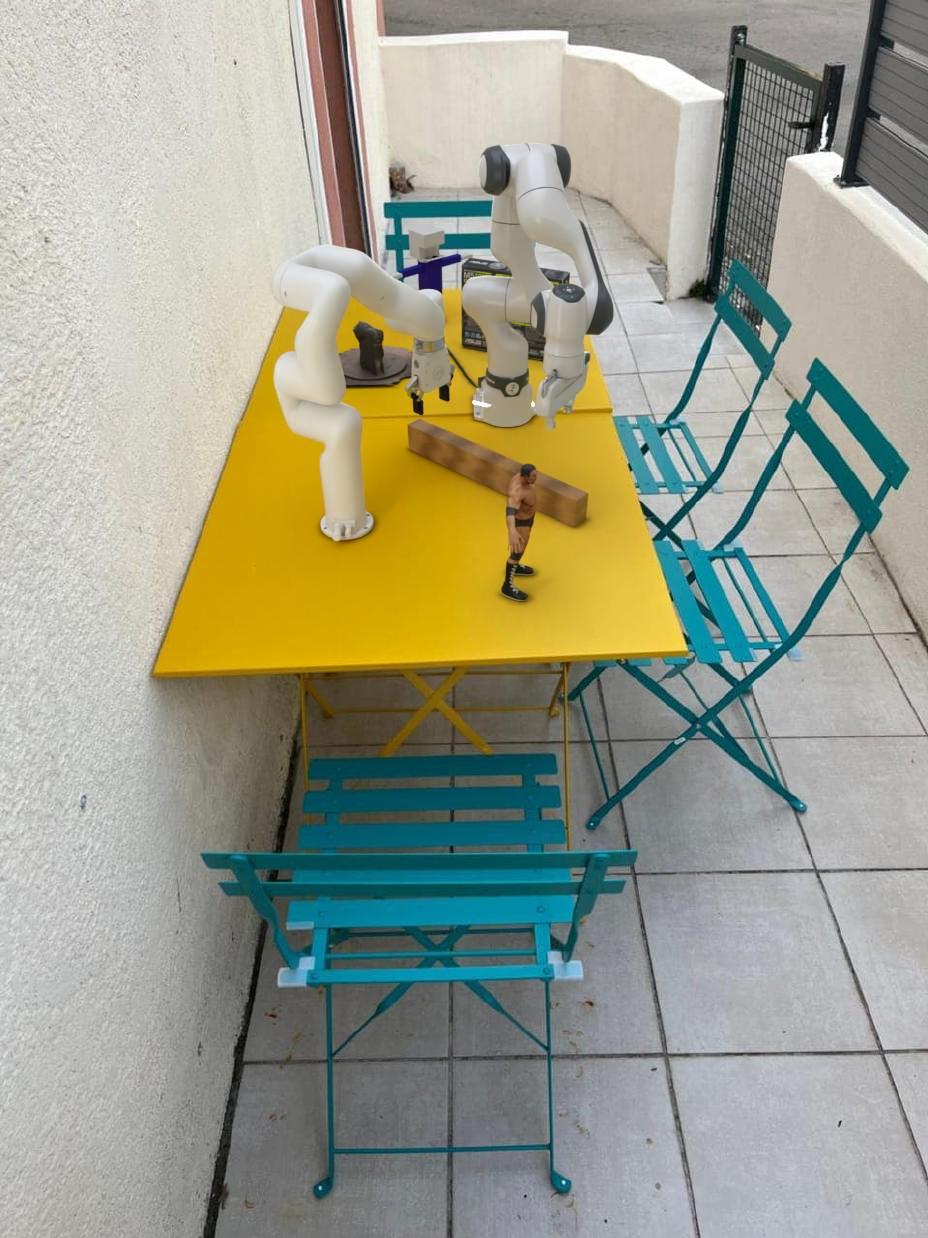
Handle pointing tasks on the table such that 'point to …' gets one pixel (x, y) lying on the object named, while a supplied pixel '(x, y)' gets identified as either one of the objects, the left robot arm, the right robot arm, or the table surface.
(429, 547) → the table surface
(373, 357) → the sculpture
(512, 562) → the figurine
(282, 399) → the left robot arm
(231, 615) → the table surface
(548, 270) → the box
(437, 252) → the toy
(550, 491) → the post
